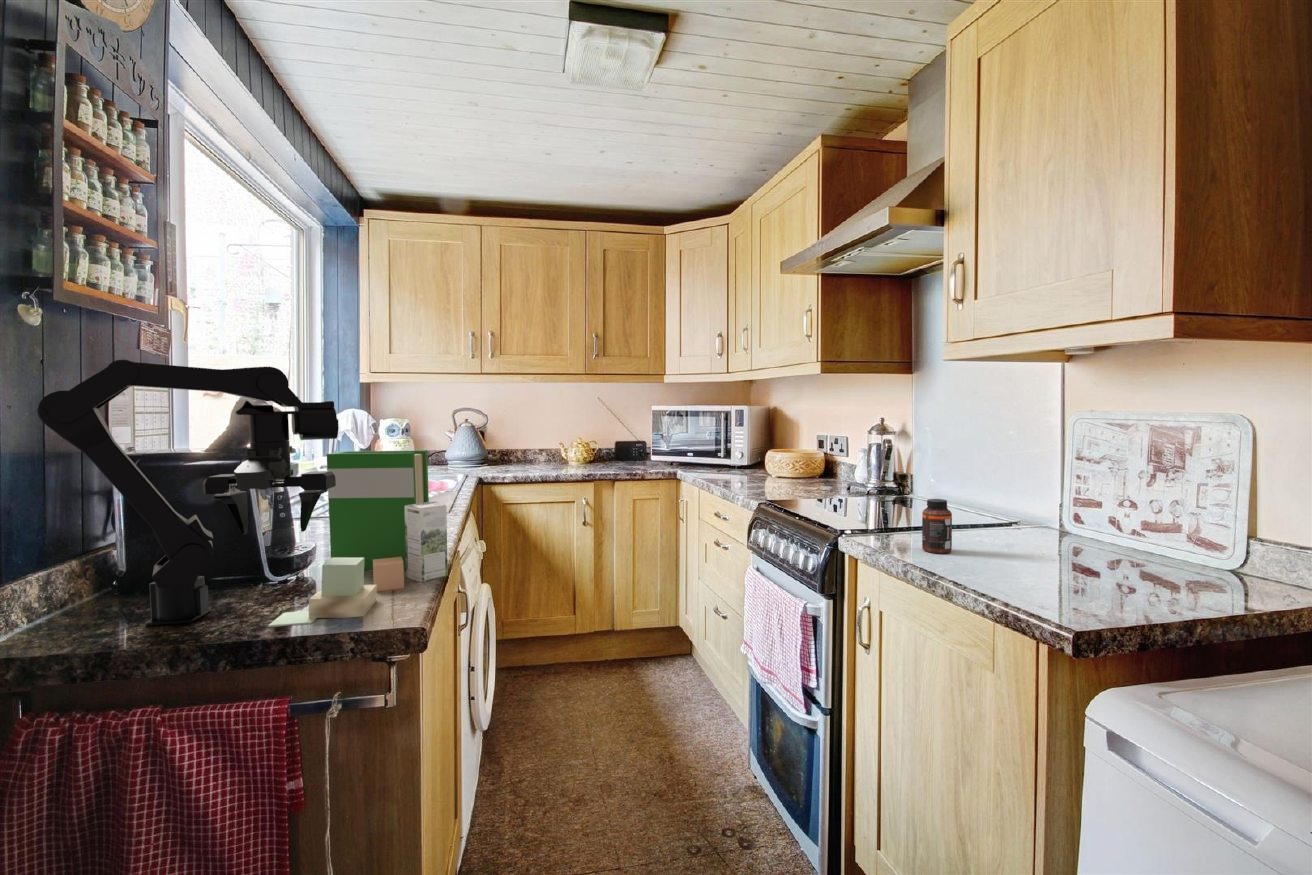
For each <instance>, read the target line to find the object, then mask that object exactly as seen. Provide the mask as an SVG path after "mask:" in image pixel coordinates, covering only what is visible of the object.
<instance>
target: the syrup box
mask: <svg viewBox="0 0 1312 875" xmlns="http://www.w3.org/2000/svg"><path fill="white" fill-rule="evenodd" d="M447 513H448V512H447V505H446V504H445V503H442V502H438V501H429V502H426V503H419V504H412V505H405V548H406V571H405V578H407V579H409V580H412V581H416V582H419V583H425V582H430V581H434V580H438V579H442V578H447V577H448V574H449V573H448V571H449V570H448V569H449V568H448V566H449V565H448V524H447V522H448V520H447V518H448V517H447V516H448V515H447Z"/></svg>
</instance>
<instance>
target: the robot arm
mask: <svg viewBox="0 0 1312 875" xmlns="http://www.w3.org/2000/svg"><path fill="white" fill-rule="evenodd" d="M289 386H290V384H289V379H288V377H287V375H286V374H285V373H284V372H283V371H282V370H281V369H279V368H277V367H274V366H255V367H242V368H241V367H239V368H227V369H224V368H223V369H219V368H205V367H197V366H195V367H194V366H185V365H184V366H183V365H170V364H160V363H158V364H157V363H148V362H136V361H131V360H129V359H117V360H116V359H115V360H114V361H112V362H110V363H109V364H108V365H107V366H106V367H105V368H104V369H102V370H100V371H98V372H97V373H95V374H93V375H92V376H90V377H88V378H86V379H85V380H84V381H81V382H79V383H78V384H77V385H75V386H74V387H72V388H71V389H69V390H57V391H54V392H50V393H48V394H47V395H45V396H44V397H43V398H42V399H41V401H39V403H38V407H37V411H36V412H37V415H38V417H39V419H40V421H41V423H43V424H44V425H45V426H46V427H48V428H49V429H50V430H52V431H54V433H56V434H57V435H58V436H59V437H61V438H62V439H63V440H65V441H66V442H67V443H69V444H71V445H72V446H73V447H75V448H77V449H78V450H79V451H80V452H82V453H84V454H85V456H87V457H88V459H89V460H90V461H91V462H92V463H93V464H94V465H95V467H97V469H98V470H99V471H100V472H101V474H102V475H104V477H106V479H107V480H108V481H109V482H110V483H111V484H112V485H113V487H114V488H115V489H116V490H117V491H118V492H119V494H121V496H123V498H124V499H125V500H126V501H127V502H128V504H129V505H130V506H132V509H134V511H135V512H137V514H138V515H139V516H140V517H141V518H142V519H143V520H144V521H145V522H146V523H147V525H148V526H149V527H150V528H151V530H152V532H153V534H154V536H155V537H156V539H157V540H156V541H157V542H158V544H159V546H160V547H161V550H162V551H163V553H164V556H163V557H161V559H159V561H157V562H156V563H155V564H154V566H153V572H152V580H153V581H152V582H151V583H149V584H148V586H149V601H150V616H151V619H149V620H147V621H145V622H144V626H163V625H176V624H189V623H193V622H195V621H196V620H198V619H200V618H201V617H203V616H204V615H206V614H207V613H209V612H210V611H212V607H211V606H210V603H209V602H210V600H209V586H208V585H205V576H204V575H200V573H201V570H204V569H205V568H206V567H208V565H210V563H211V562H212V561H213V559H214V554H215V549H214V545H213V541H214V535H213V533H212V531H210V530H208V529H206V528H205V527H204V526H203V524H202V522H201V520H200V519H199V517H198V515H197V514H193V516H191V517H190V518H185V517H184V516H183V515H182V514H180V513H179V512H177V511H176V510H175V509H174V508H173V506H172V505H171V504H170V503H169V502H168V500H167V499H166V498H165V497H164V496H163V495H162V494H161V493H160V492H159V490H158V489H157V488H156V487H155V486H154V484H153V483H152V482H151V481H150V480H149V479H148V477H146V475H145V474H144V473H143V472H142V470H141V469H140V468H139V466H137V464H135V462H134V461H133V460H132V459H131V458H130V457H129V456H128V454H127V453H126V452H125V451H124V449H123V448H122V447H121V446H120V445H119V444H118V443H117V442H116V440H115V438H114V437H113V435H112V433H111V431H110V429H109V427H108V425H107V423H106V421H105V419H104V417H103V416H102V414H101V412H100V411H99V409H101V408H102V407H103V406H105V405H106V404H108V403H109V402H111V401H112V400H113V399H115V398H116V397H118V396H119V395H120V394H122V393H124V391H126V390H128V389H129V388H130V387H139V388H140V387H141V388H153V389H155V388H156V389H170V390H185V391H197V392H198V391H200V392H215V393H222V394H228V395H232V396H235V397H240V398H244V399H250V400H255V401H258V402H259V401H260V402H264V403H265V402H273V403H275V404H276V405H279V406H280V407H282V408H294V410H290V411H289V410H287V411H286V410H285V411H284V410H283V411H280V410H278V411H277V410H275V409H274V405H273V404H256V405H255V404H252V403H251V402H250V401H249V400H245V401H244V402H243V403H242V405H241V406H240V407H239V408H238V409H236V410H235V411H234V414H235V415H237V416H248V425H249V426H248V428H249V448H247V449H246V458H245V460H244V461H243V462H241V463H240V464H239V465H238V466H237V467H236V469H234V470H233V473H226V474H225V473H224V474H216V475H210V476H207V477H206V478H205V480H204V481H203V484H202V487H203V488H202V490H203V493H202V494H203V495H212V498H213V500H219V501H221V502H222V503H223V504H224V505H225V506H226V507H227V509H228V510H229V512H230V513H231V515H232V517H233V519H234V521H235V523H236V526H237V527H238V530H239V531H240V533H241V535H246V534H247V533H248V529H249V528H248V526H249V517H248V516H249V514H248V513H249V511H248V510H249V509H248V490H260V491H262V490H263V491H264V490H268V489H271V488H295V487H296V488H297V487H300V488H302V489H303V490H304V491H302V492H299V493H298V497H299V500H300V515H299V518H300V519H299V523H300V524H299V525H300V526H299V527H300V532H301V533H303V532H306V531H307V528H308V526H309V525H308V524H309V522H310V519H311V517H312V514H313V512H314V510H315V507H316V505H317V503H318V502H319V500H320V497H321V495H322V494H325V493H328V489H329V488H332V487H334V486H336V479H335V475H334V473H333V472H332V471H327V470H320V471H319V470H318V471H316V470H315V471H308V472H304V473H301V474H300V475H294V469H291V452H292V453H293V445H290V429H289V428H290V426H289V425H290V424H289V415H290V416H291V431H292V435H296V436H297V435H298V436H299V440H300V441H311V440H312V441H313V440H334V439H335V440H337V438H338V435H339V419H338V415H337V411H336V407H335V402H334V400H324V401H318V402H315V401H314V402H312V401H311V402H310V401H309V402H305V401H304V402H303V401H302V400H300V399H299V396H297V395H296V394H295V393H294V392H293V391H292V389H291V388H290V387H289Z"/></svg>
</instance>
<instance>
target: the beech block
mask: <svg viewBox="0 0 1312 875" xmlns="http://www.w3.org/2000/svg"><path fill="white" fill-rule="evenodd" d="M321 590H322V588H321V589H319V590H318V591H317V592H316V593H315V594H313V595H312V596H311V597H310V598H309V599H308V611H309V618H317V619H333V618H334V619H335V618H336V619H339V618H342V619H343V618H353V617H354V618H357V617H365V615H366V614H367V613H368V611H369V610H370V609H371V608H372V606H374V604H375V603H376V602H377V592H378V591H377V585H374V584H364V587H363V588H362V589H361V590H360V591H359V592H358V593H357V594H356V596H321Z"/></svg>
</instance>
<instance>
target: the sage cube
mask: <svg viewBox="0 0 1312 875" xmlns="http://www.w3.org/2000/svg"><path fill="white" fill-rule="evenodd" d="M321 566H322V567H321V589H322V590H321V589H320V590H321V596H356V594H357V593H358V592H359V591H360V590H361V589H362V588H363V587H364V585H365V584H364V582H365V571H364V558H346V557H332V558H331V557H330V558H329V559H328V560H326V562H324V563H323V564H322V565H321Z"/></svg>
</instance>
